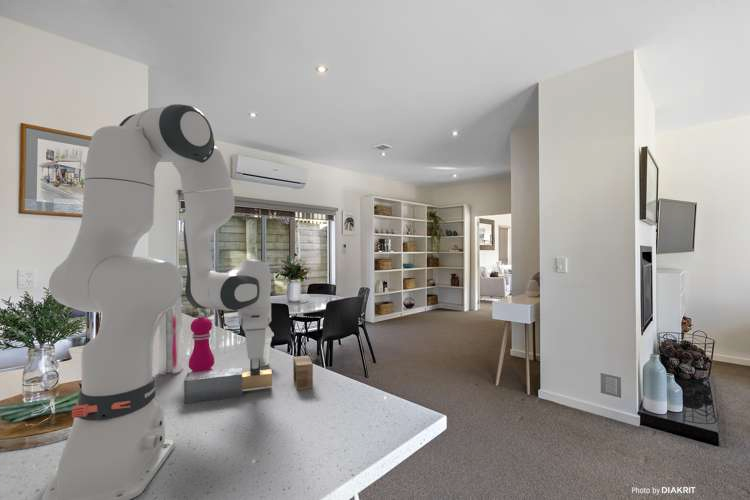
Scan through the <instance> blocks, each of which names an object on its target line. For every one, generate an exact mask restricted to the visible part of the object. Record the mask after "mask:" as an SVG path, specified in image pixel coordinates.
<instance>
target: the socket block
mask: <svg viewBox="0 0 750 500" xmlns="http://www.w3.org/2000/svg"><path fill="white" fill-rule="evenodd" d="M292 362H293V363H292V364H293V369H292V370H293V372H292V373H293V374H292V375H293V376H292V377H293V383H294V385H295V389H296V391H300V390H301V391H302V390H308V388H309V389H313V388H314V381H313V380H314V379H313V377H314V373H313V371H314V368H313V367H314V364H313V362H312V360H311V358H310V356H309V355H301V356H293V360H292Z"/></svg>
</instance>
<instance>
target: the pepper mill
mask: <svg viewBox="0 0 750 500" xmlns="http://www.w3.org/2000/svg"><path fill="white" fill-rule="evenodd" d="M197 316H198V317H197V318H195V319H194V320H193V321H192V322H191V323H190V331H191V332H192V333H193V334H192V339H193V340H194V341H193V342H194V344H193V350H192V351H191V354H190V356H189V360H188V368H189V369H190V370H191V372H200V371H209V370H214V369H213V366H214V365H215V357H214V354H213V352H212V349H211V347H210V338H211V332H210V331H211V330H212V328H213V322H212V320H211V319H210V318H208V317H205V313H204V312H199V313H198V315H197Z"/></svg>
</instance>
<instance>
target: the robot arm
mask: <svg viewBox="0 0 750 500" xmlns="http://www.w3.org/2000/svg"><path fill="white" fill-rule="evenodd" d="M164 162H166V163H172V165H173V166H174V167H175V168H176V170H177V172H178V174H179V176H180V184H181V189H182V194H183V200H184V209H185V213H184V214H185V215H184V220H183V232H182V233H183V243H184V251H185V260H186V261H185V262H186V263H185V264H186V280H185V286H184V280H183V275H182V273H181V271H180V269H179V268H178V267H177V266H176V265H174V264H173V263H172V262H169V261H166V260H162V259H158V258H154V257H150V256H133V255H134V252H135V248H136V246H137V244H138V242H139V241H140V239H141V238H142V237H143V236H144V235H145V234H147V233H148V232H149V231H150V230H151V229H152V227H153V226H154V218H155V217H154V213H155V188H156V186H155V181H156V179H155V171H156V167H157V165H158V163H164ZM84 168H85V169H84V179H83V181H84V182H83V197H82V198H83V200H82V201H83V202H82V214H81V215H82V216H81V222H80V227H79V230H78V233H77V236H76V238H75V240H74V243H73V246H72V248H71V249H70V252H68V253H69V254H68V255H67V257H66V258H65V259H64V261H62V262H61V263H60V264H58V266H57V267H56V268H54V270H53V271H52V273H51V275H50V277H49V282H48V288H49V292H50V295H51V296H52V297H53V299H54V300H55V301H57V302H58V303H59V304H61V305H63V306H65V307H68V308H71V309H74V310H77V311H79V312H85V313H87V312H89V313H101V314H102V315H101V322H100V326H99V328H98V332H97V334H96V335H95V337H94V338H92V339H91V340H89V341H88V342H87V343H86V344H85V345H84V346H83V348H82V350H81V355H80V358H81V359H80V361H81V368H80V369H81V389H80V390H79V392H78V396H77V397H78V399H77V401H76V404H75V405H74V406H73V407H72V410H71V417H72V419H73V423H72V426H71V428H70V432H69V434H68V436H67V440H66V442H65V445H64V448H63V451H62V454H61V456H60V459H59V461H58V463H57V465H56V468H55V470H54V471H53V474H52V476H51V478H50V480H49V483H48V484H47V486H46V489H45V491H44V492H43V495H42V497H41V499H40V500H132V499H134V498H135V497H138V496H140V495H141V494H142V493H143V491H144V490H145V489H146V487H147V486H148V485H149V483H150V482H151V480H152V479H153V478H154V476H155V475H156V473H157V472H159V471H158V470H159V469H160V468H161V467H162V465H163V463H164V462H166V460H167V458H168V457H169V455H170V454H171V452H173V450H174V449H175V447H176V444H175V441H174V439H170V438H166V437H167V436H166V422H165V419H166V418H165V408H164V406H163V405H162V404H160V403H159V402H158V401H157V400H156V398H155V397H156V387H157V385H156V384H157V383H156V380H155V377H154V376H153V353H154V351H153V350H154V341H155V340H154V339H155V336H156V332H157V330H158V325H159V323H160V321H161V319H162V317H163V316H164V314H165V313H166V312H167V311H168V310H170V309H171V308H172V307H173V306H174V305H175V304H176V303H177V302H178V300H179V298H180V297H182V294H183V288H184V287H185V288H184V290H185V291H184V292H185V297H186V299H187V301H188V302H189V304H190V305H192V307H194V308H196V309H203V310H204V309H208V310H209V309H210V310H211V309H213V310H219V311H238V312H237V318H238V319H237V324H238V325H240V326H241V328H242V331H243V332H244V334H245V335H244V336H245V344H246V345H245V346H246V351H247V357H248V360H250V359H251V360H252V368H253V369H256V368H258V367H259V359H260V358H262V357H263V354H264V346H265V337H266V328H268V326H269V327H270V323H271V322H272V302H271V293H272V277H271V276H272V274H271V269H270V266H269V263H268V262H266V261H264V260H261V259H253V258H245V259H244V258H243V259H241V260H240V262H239V264H238V265H237V266H235V267H234V268H232V269H231V270H228V271H227V272H217V271H216V270H215V269H214V266H213V259H212V257H213V256H212V249H211V247H212V246H211V239H212V236H213V234H214V232H216V231H217V230H218V229H219V228H221V227H222V226H223V225H225V224H226V223H227V222H229V220H231V218H232V216H233V214H234V212H235V208H236V207H235V194H234V190H233V186H232V181H231V177H230V173H229V170H228V166H227V163H226V160H225V158H224V155H223V154H222V152H221V150H220V149H219V148H218V147H217V146H215V139H214V132H213V129H212V126H211V124H210V122H209V120H208V119H207V117H206V115H204V114H203V112H202V111H200V109H198V108H197V107H195V106H193V105H189V104H182V103H181V104H180V103H177V104H176V103H174V104H170V105H168V106H161V107H152V108H149V109H146V110H142V111H139V112H138V113H135V114H131V115H129V116H127V117H125V118H124V119H123V120H122V121H121V122H120V123H119V125H107V126H106V125H105V126H102V127H100V128H99V129H98V128H97V130H96V131H95V132H94V133H93V135H92V137H91V139H90V142H89V147H88V150H87V155H86V160H85V167H84Z"/></svg>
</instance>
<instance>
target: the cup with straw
mask: <svg viewBox="0 0 750 500" xmlns="http://www.w3.org/2000/svg"><path fill="white" fill-rule="evenodd" d="M274 336H275V334H274V332H273V331H272V328H271V327H270V325H269V326H268V328H266V337H265V346H264V354H263V357H262V358H260V367H264V366H267V365H268V364H269V359H270V350H271V343H272V338H273V337H274Z"/></svg>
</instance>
